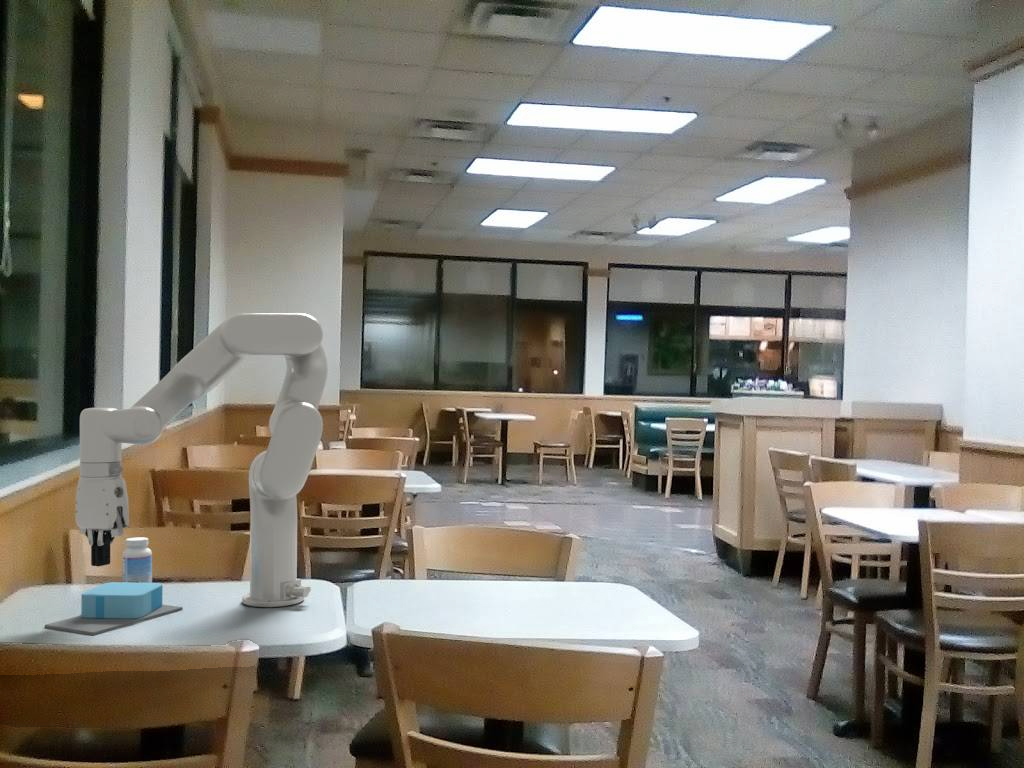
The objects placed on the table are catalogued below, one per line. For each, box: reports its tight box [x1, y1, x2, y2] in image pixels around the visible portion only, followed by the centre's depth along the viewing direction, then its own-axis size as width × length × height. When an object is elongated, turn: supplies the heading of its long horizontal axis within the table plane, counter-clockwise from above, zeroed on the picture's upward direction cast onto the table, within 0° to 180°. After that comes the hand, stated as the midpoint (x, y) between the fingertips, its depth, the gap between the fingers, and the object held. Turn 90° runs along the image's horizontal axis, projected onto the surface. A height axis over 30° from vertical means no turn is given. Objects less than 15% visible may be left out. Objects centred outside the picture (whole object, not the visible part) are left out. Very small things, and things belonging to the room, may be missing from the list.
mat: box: [44, 604, 183, 636], centre depth 187 cm, size 12×22×1 cm, turn 155°
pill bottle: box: [121, 536, 153, 583], centre depth 213 cm, size 6×6×11 cm
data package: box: [80, 581, 163, 619], centre depth 190 cm, size 12×4×12 cm
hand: (100, 564), depth 189 cm, fingers closed
